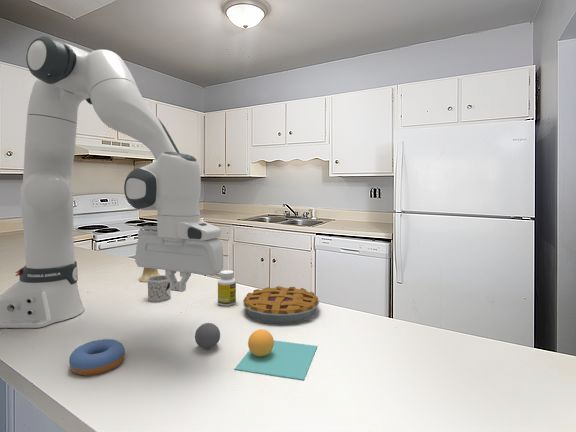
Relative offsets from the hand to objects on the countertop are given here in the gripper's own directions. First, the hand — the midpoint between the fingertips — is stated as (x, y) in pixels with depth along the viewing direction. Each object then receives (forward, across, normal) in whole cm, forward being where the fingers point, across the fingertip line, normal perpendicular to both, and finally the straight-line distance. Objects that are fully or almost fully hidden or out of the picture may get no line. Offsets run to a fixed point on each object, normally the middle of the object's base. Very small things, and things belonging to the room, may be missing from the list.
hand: (177, 290), depth 78 cm
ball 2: (+10, +19, +3) cm, 21 cm away
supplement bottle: (+12, -3, +30) cm, 32 cm away
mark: (+12, +23, +3) cm, 26 cm away
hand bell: (+13, -42, +44) cm, 62 cm away
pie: (+12, +15, +29) cm, 35 cm away
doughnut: (+14, -11, -11) cm, 21 cm away
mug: (+13, -26, +28) cm, 40 cm away
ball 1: (+10, +6, +2) cm, 12 cm away
